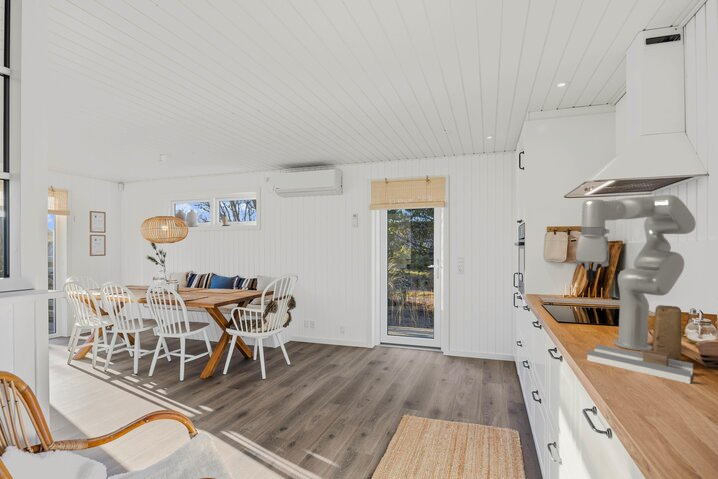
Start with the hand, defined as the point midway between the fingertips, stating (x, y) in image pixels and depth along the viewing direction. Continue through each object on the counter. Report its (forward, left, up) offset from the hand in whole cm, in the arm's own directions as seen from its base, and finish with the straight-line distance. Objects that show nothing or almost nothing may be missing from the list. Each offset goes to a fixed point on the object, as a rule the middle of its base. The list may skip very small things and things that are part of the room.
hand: (591, 280), depth 140 cm
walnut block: (+6, +21, -25) cm, 33 cm away
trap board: (+6, +16, -27) cm, 32 cm away
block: (-8, +22, -27) cm, 36 cm away
